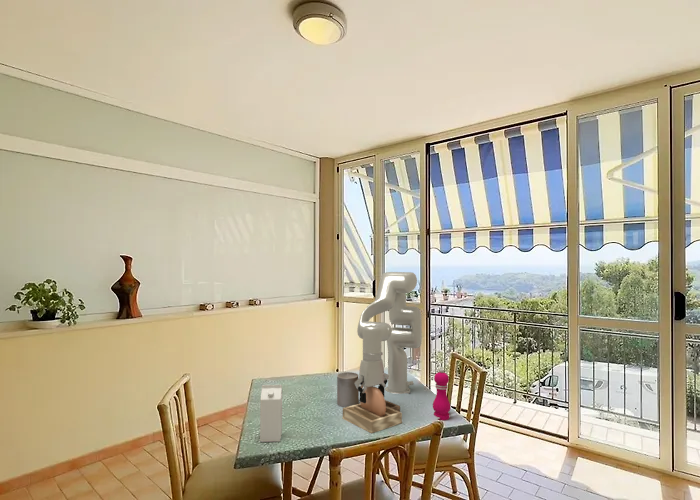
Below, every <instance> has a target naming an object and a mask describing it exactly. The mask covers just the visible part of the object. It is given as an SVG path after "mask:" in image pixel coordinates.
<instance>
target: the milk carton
mask: <svg viewBox="0 0 700 500" xmlns="http://www.w3.org/2000/svg"><path fill="white" fill-rule="evenodd" d="M259 404H260V405H259V406H260V416H259V418H260V419H259V442H260V443H265V442H266V443H268V442H271V443H272V442H281V438H282V433H283V385H282V384H262V385H261V393H260V403H259Z"/></svg>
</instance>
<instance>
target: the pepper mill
mask: <svg viewBox="0 0 700 500" xmlns="http://www.w3.org/2000/svg"><path fill="white" fill-rule="evenodd" d="M433 379H434V382H435V389H436V396H435V397H434V400H433V403H432V409H433V411H434V412H433V415H434V417H436V418H437V420H439V421H448V420H450V413H449V412H450V411H451V403H450V400H449V397H448V394H447V390H448V386H449V385H448V383H449V381H450V377H449V375H448V374H447V373H445V371H444V369H443V368H440V369H439V372H436V373H435V374H434V377H433Z"/></svg>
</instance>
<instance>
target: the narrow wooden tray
mask: <svg viewBox="0 0 700 500" xmlns="http://www.w3.org/2000/svg"><path fill="white" fill-rule="evenodd" d="M385 403H386V406H387V407H389V408H392V409H394V410H397V411H399V412H401V405H398V404H396V403H393V402H391V401H389V400H386V399H385Z"/></svg>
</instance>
